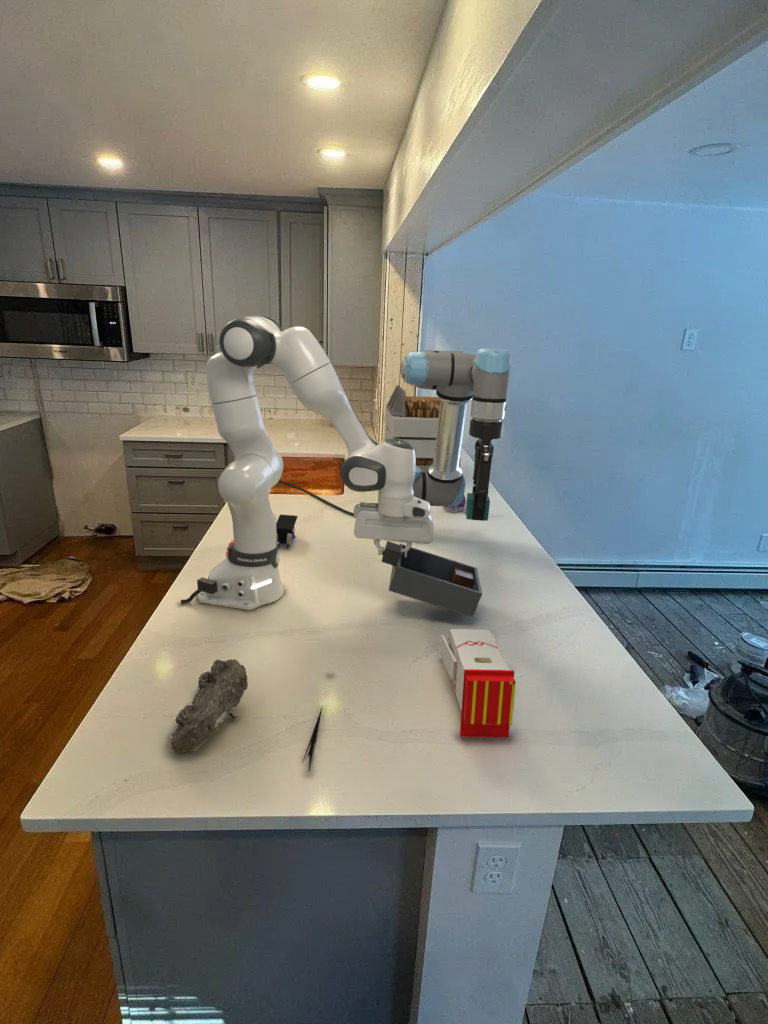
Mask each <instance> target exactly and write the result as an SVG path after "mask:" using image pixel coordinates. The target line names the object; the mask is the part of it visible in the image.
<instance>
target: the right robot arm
mask: <svg viewBox="0 0 768 1024" xmlns="http://www.w3.org/2000/svg"><path fill="white" fill-rule="evenodd" d="M511 358H512V353H511V351H510V350H509V349H506V348H505V349H504V348H493V347H492V348H491V347H482V348H479V349H478V350H477V352H471V351H464V350H434V349H427V350H425V349H424V350H419V351H410V352H408V353H407V354H406V356H405V357H404V358H403V360H402V361H401V363H400V368H399V370H400V375H401V378H402V379H403V381H404V382H405V383H406V384H407V385H410V386H411V387H414V388H417V389H423V390H431V391H436V392H435V394H436V397H439V398H440V408H439V416H438V425H437V434H436V443H435V452H434V461H433V464H431V465H430V466H427V472H426V471H422V469H421V468H420V467H419V466H416V471H415V480H414V482H413V490H414V497H417V498H419V499H422V500H424V501H427V502H429V504H430V507H444V508H445V507H449V506H457V505H459V504H460V503H461V501H462V499H463V496H464V495H465V491H466V485H467V484H466V483H467V480H466V475H465V474H464V473H463V470H462V468H461V466H460V467H459V459H460V458H461V454H460V452H462V444H463V437H464V431H465V430H464V429H465V423H466V415H467V408H468V403H469V402H470V401H471V405H470V414H469V415H470V417H471V419H470V420H469V430H468V435H469V436H471V437H472V438H475V439H476V441H475V443H474V463H473V465H474V466H473V476H472V484H473V485H472V492H471V493H473V494H475V495H474V505H473V515H472V520H471V521H480V522H484V514H485V505H486V496H487V495H488V496H489V488H490V487H489V485H490V477H491V468H492V462H493V461H492V460H493V456H494V450H495V449H494V448H495V447H494V445H493V443H492V441H493V440H498V439H501V438H502V437H503V432H504V422H503V420H504V419H505V413H506V412H505V411H507V410H508V409H509V407H508V405H506V403H507V396H508V387H509V379H510V372H511V371H510V370H511V368H512V364H511V361H512V360H511ZM277 483H279V484H283V485H285V486H288V487H291V488H293V489H296V490H299V491H301V492H304V494H307V495H309V496H311V497H313V498H316V499H317V500H319V501H321V502H323V503H324V504H327V505H328V506H330V507H332V508H334V509H336V510H338V511H340V512H342V513H345V514H346V515H350V516H353V517H354V512H351V511H349V510H347V509H344V508H342V507H340V506H337V505H336V504H334V503H332V502H330V501H328V500H327V499H324V498H322V497H321V496H318V495H316V494H315V493H313V492H310V491H308V490H306V489H304V488H302V487H300V486H298V485H295V484H292V483H289V482H286V481H283V480H279V481H278V482H277Z"/></svg>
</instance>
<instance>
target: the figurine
mask: <svg viewBox="0 0 768 1024" xmlns="http://www.w3.org/2000/svg"><path fill="white" fill-rule="evenodd" d="M466 501H467V497H466V496H465V494H464V496H463V499H462V501H461V503H460V504H459V505H457V506H449V507H445V506H444V508H445V510H446V511H447V512H450V513H457V512H463V511H465V509H466Z"/></svg>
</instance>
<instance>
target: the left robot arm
mask: <svg viewBox="0 0 768 1024" xmlns="http://www.w3.org/2000/svg"><path fill="white" fill-rule="evenodd" d="M218 343H219V348H220V351H221V352H217V353H215V354H214V355H212V356H211V357H210V358H208V360H207V362H206V365H205V371H206V372H205V373H206V383H207V390H208V395H209V400H210V403H211V407H212V412H213V417H214V420H215V424H216V427H217V432H218V434H219V436H220V437H221V439H223V440H224V441H225V442H226V443H227V445H228V447H229V448H230V451H231V452H232V454H233V458H234V461H232V462H230V463H229V464H228V465H226V467H225V468H224V470H223V471H222V473H221V474H220V476H219V478H218V481H217V487H218V488H217V490H218V493H219V494H220V497H221V498H222V499H223V500H224V501H225V502H226V503H227V506H228V509H229V512H230V516H231V521H232V531H233V533H232V535H233V539H231V541H230V542H229V543H228V547H227V548H226V551H225V557H226V558H225V559H222V560H221V561H220V562H219V563H217V564H216V565H215V566H214V567H212V568H211V569H210V571H209V573H208V575H207V577H203V576H202V577H200V578H198V579H197V580H196V584H197V585H196V586H197V589H196V590H195V591H193V593H191V595H190V596H189V597H188V598H186V599H180V604H189V603H190V602H192V601H193V600H194V598H195V597H197V600H198V602H199V603H201V604H206V605H212V606H219V607H226V608H231V609H239V610H245V611H252V610H255V609H257V608H259V607H261V606H265V605H268V604H271V603H274V602H276V601H278V600H279V599H281V598H282V597H283V595H284V593H285V589H284V587H283V584H282V580H281V576H280V569H279V564H280V550H279V549H280V548H278V543H279V542H278V543H277V532H276V523H277V517H276V515H275V513H274V512H273V509H272V507H271V502H270V491H271V489H273V487H275V486H276V485H277V484H278V483H279V482H278V481H279V480H280V479H281V478H282V475H283V473H284V469H285V468H284V467H285V465H284V464H285V463H284V460H283V457H282V456H281V454H280V453H279V452H277V450H276V449H275V447H274V444H273V442H272V440H271V438H270V435H269V434H268V431H267V429H266V426H265V423H264V418H263V414H262V411H261V407H260V403H259V399H258V395H257V394H258V393H257V390H256V386H255V381H254V373H255V370H256V369H259V368H262V367H263V366H265V365H269V364H273V365H275V366H277V367H278V368H279V370H281V372H282V374H283V375H284V377H285V379H286V381H287V383H288V385H289V387H290V389H291V390H292V392H293V394H294V395H295V397H296V399H298V401H299V402H300V403H301V405H302V406H303V407H304V408H305V409H307V410H308V411H310V412H314V413H317V414H320V415H321V416H323V417H325V418H327V419H328V420H329V422H330V423H331V424H332V425H333V427H334V428H335V430H336V432H337V433H338V435H339V436H340V438H341V440H342V441H343V443H344V445H345V447H346V449H347V454H348V456H347V457H346V458H345V460H344V461H343V462H342V464H341V467H340V470H339V473H340V478H341V481H342V484H344V486H346V487H347V489H349V490H351V491H352V492H356V493H357V492H358V493H366V492H375V491H378V494H377V502H365V501H364V502H363V501H360V502H359V503H357V504H355V506H354V507H353V513H354V516H353V517H354V519H355V521H354V528H353V536H354V537H355V538H356V539H362V540H373V544H374V546H375V547H376V549H377V556H383V554H384V550H385V546H382V545H381V543H380V542H381V541H389V542H392V541H393V542H404V543H405V544H406V547H405V548H402V550H401V557H407V551H408V550H409V549H410V548H411V547H412V546H413V543H418V544H420V543H421V544H431V543H432V542H433V541H434V534H435V533H434V519H433V516H432V514H431V510H432V509H431V507H432V506H430V504H429V502H427V501H424V500H422V499H419V498H417V497H414V490H413V482H414V480H415V471H416V467H417V466H416V458H415V451H414V449H413V447H412V446H411V445H410V444H409V443H407V442H405V441H402V440H398V439H386V440H383V441H382V442H380V443H377V441H375V440H374V439H373V438H372V437H371V436H370V435H369V434H368V433H367V430H366V429H365V428H364V425H363V423H362V422H361V420H360V419H359V417H358V415H357V413H356V412H355V410H354V409H353V406H352V405H351V404H350V402H349V399H348V397H347V395H346V392H345V390H344V389H343V386H342V383H341V381H340V379H339V376H338V374H337V373H336V370H335V368H334V366H333V364H332V362H331V360H330V358H329V357H328V355H327V353H326V352H325V350H324V348H323V347H322V345H321V343H319V341H318V339H316V337H315V336H314V334H313V333H312V332H311V331H310V330H309V329H308V328H306V327H304V326H297V325H296V326H292V327H291V326H290V327H289V328H286V329H284V330H283V328H282V327H281V325H280V324H279V323H278V322H277V321H276V320H274V319H272V318H270V317H268V316H263V315H262V316H261V315H247V316H244V317H237V318H234V319H232V320H230V321H229V322H227V323H226V324H225V325H224V327H223V328H222V329H221V332H220V335H219V341H218ZM280 481H281V480H280Z"/></svg>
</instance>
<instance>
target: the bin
mask: <svg viewBox="0 0 768 1024" xmlns="http://www.w3.org/2000/svg"><path fill="white" fill-rule="evenodd" d="M406 546H407V545H405V544H403V543H399V544H398V543H395V542H392V541H389V540H386V544H385V546H384V554H383V555H382V557H381V563H384V564H387V565H390V566H391V572H390V580H389V586H388V591H389V592H391V593H395V594H398V595H401V596H405V597H407V598H411V599H413V600H416V601H420V602H424V603H427V604H430V605H433V606H437V607H438V608H439V607H440V608H442V609H445V610H449V611H452V612H456V613H458V614H462V615H465V616H468V617H471V618H473V617H474V615H475V612H476V610H477V608H478V606H479V603H480V600H481V598H482V595H483V591H482V586H481V580H480V575H479V570H478V567H475V566H472V565H469V564H467V563H464V562H460V561H457V560H453V559H450V558H447V557H444V556H440V555H437V554H435V553H431V552H429V551H424V550H422V549H419V548H416V547H412V546H411V548H410V549H409V550H408V551H407V557H401V550H402V548H405V547H406ZM455 566H456V567H459V568H462V569H465V570H468V571H471V572H473V577H474V581H473V583H472V586H471V588H470V589H469V588H466V587H463V586H460V585H456V584H453V583H450V582H449V581H450V578H451V575H452V573H453V570H454V568H455Z"/></svg>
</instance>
